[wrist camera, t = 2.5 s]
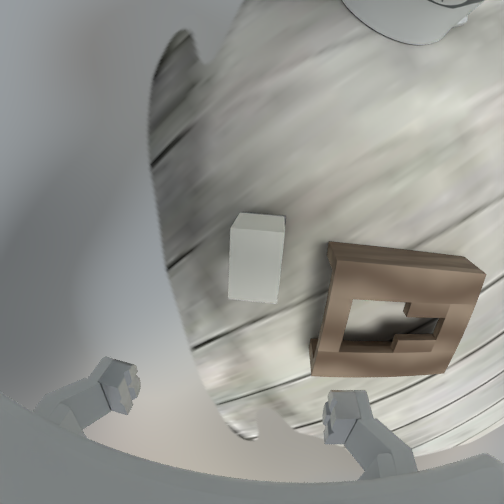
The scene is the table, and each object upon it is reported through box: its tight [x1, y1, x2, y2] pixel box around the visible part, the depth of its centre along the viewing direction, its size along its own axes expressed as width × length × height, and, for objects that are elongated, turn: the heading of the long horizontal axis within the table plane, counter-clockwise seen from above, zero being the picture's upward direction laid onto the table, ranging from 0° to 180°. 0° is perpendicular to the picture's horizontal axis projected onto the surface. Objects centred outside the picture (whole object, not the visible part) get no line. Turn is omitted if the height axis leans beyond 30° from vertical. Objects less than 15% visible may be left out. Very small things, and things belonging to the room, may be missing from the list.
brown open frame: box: [309, 241, 486, 377], centre depth 30 cm, size 14×18×5 cm
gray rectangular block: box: [228, 212, 286, 304], centre depth 27 cm, size 6×4×8 cm
